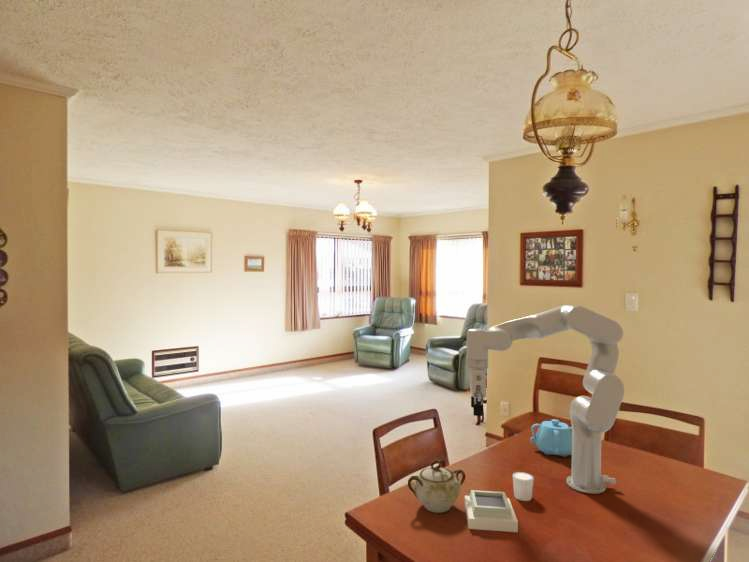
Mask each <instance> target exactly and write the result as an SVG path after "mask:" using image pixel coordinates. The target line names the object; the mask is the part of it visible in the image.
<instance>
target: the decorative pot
mask: <svg viewBox="0 0 749 562" xmlns="http://www.w3.org/2000/svg"><path fill="white" fill-rule="evenodd" d="M536 427H538V429H537V432H536V433H535V428H536ZM530 430H531V433H532V436H531V437H530V438H529V440H530V443H532V444H534V445H535V444H536V447H537V448H538V450H539V451H540V452H542V453H543V455H546V456H550V455H551V456H552V455H554V456H560V457H562V456H563V458H566V457H568V456H572V426H569V425H568V424H567V423H565V422H562V421H561V422H560V420H559V419H555V418H554V419H551V420H544V421H542V422H541V423H534V424H532V426H531V429H530Z"/></svg>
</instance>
